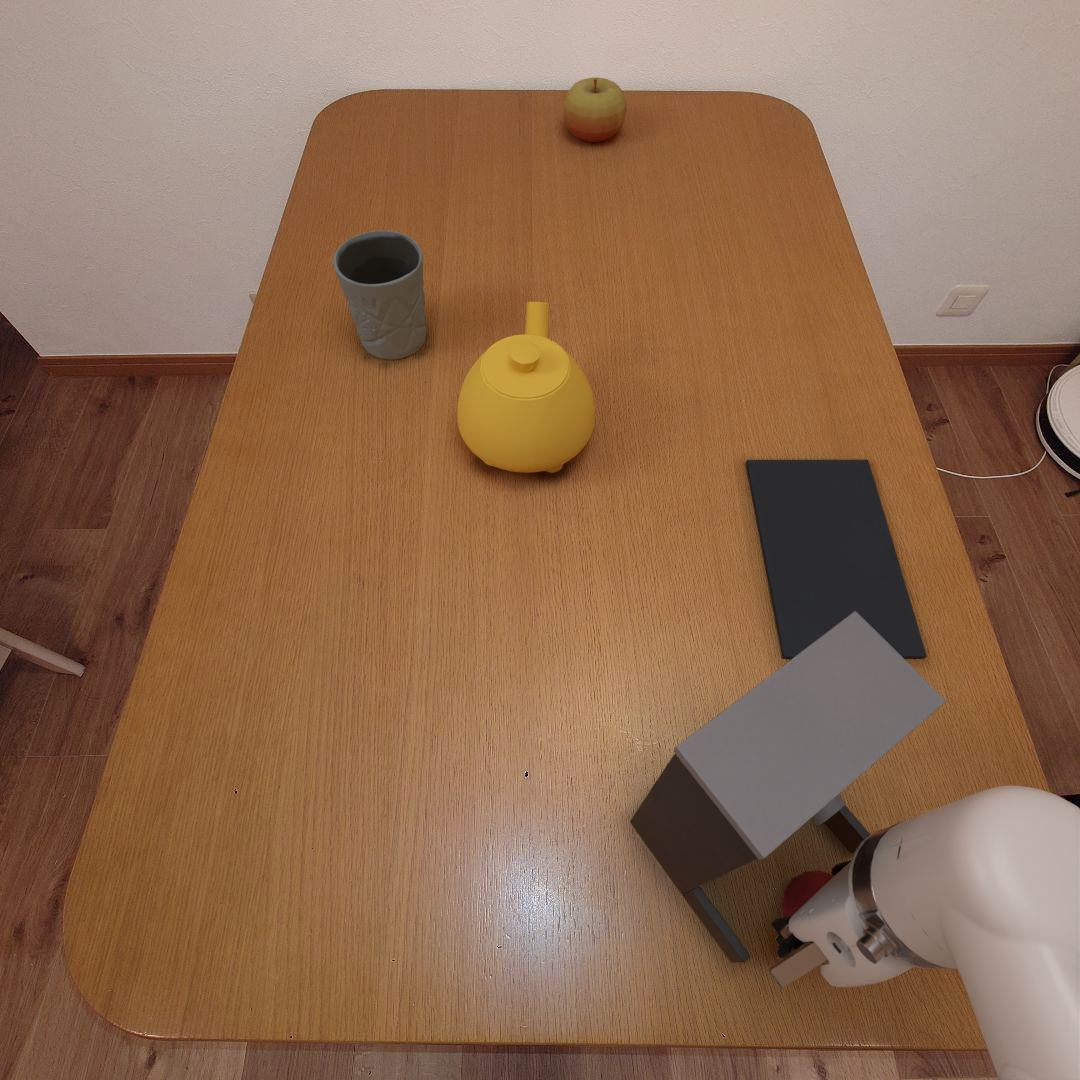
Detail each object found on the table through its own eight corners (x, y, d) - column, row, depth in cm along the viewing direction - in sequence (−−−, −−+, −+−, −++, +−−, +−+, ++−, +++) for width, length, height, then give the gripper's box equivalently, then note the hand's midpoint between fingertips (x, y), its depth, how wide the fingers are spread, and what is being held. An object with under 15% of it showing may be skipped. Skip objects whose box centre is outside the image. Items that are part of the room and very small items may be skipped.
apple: (595, 110, 120) (598, 58, 113) (635, 135, 116) (642, 83, 109) (550, 131, 117) (551, 79, 110) (590, 158, 113) (594, 106, 106)
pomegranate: (836, 966, 57) (878, 967, 50) (764, 940, 58) (795, 936, 51) (845, 890, 60) (885, 880, 53) (776, 865, 61) (807, 853, 54)
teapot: (480, 355, 91) (471, 264, 79) (602, 368, 90) (611, 277, 78) (448, 483, 81) (433, 400, 69) (585, 498, 80) (594, 417, 68)
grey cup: (342, 352, 91) (317, 274, 81) (376, 300, 96) (357, 220, 86) (415, 371, 89) (399, 294, 79) (446, 318, 94) (435, 238, 84)
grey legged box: (859, 847, 61) (1033, 785, 40) (730, 964, 57) (848, 964, 36) (752, 724, 67) (855, 610, 45) (627, 821, 62) (675, 746, 41)
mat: (924, 658, 70) (927, 656, 70) (782, 658, 70) (784, 656, 70) (866, 462, 83) (868, 459, 82) (745, 462, 82) (746, 459, 82)
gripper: (871, 1066, 37) (772, 1035, 52) (1072, 857, 42) (927, 886, 57) (768, 930, 40) (703, 939, 55) (966, 751, 45) (856, 805, 61)
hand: (818, 912), depth 56 cm, fingers closed on pomegranate, 5 cm apart
